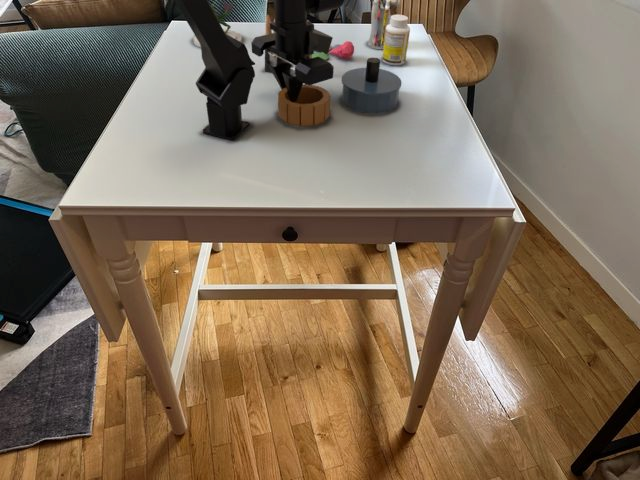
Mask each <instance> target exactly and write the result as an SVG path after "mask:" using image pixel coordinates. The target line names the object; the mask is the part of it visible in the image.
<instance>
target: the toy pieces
mask: <svg viewBox="0 0 640 480" xmlns="http://www.w3.org/2000/svg"><path fill="white" fill-rule="evenodd" d="M354 52H355V46H354V44H353V42H352V41H350V40H346V41H345V42H343V43H342V44H337V46H334V47H333V48H332V47H331V46H330V49H329V52H328V54H324V52H319V51H317V52H314V54H312V58H315V57H320V58H322V59H324V60H326V61H328V60H329V54H331V55H333V56H335V57H338V58H340V59H342V60H346V61H348V60H350V59H351V58H352V57H353V55H354V54H355V53H354Z"/></svg>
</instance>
